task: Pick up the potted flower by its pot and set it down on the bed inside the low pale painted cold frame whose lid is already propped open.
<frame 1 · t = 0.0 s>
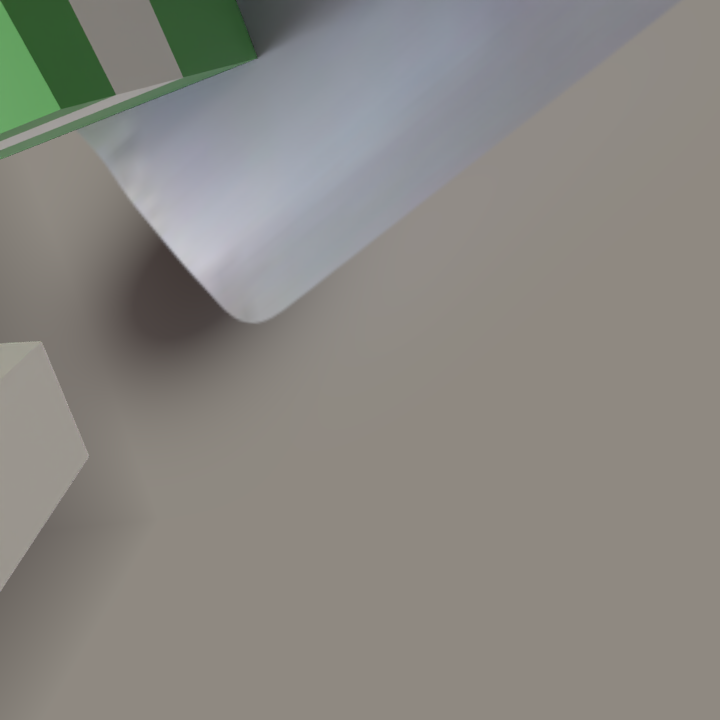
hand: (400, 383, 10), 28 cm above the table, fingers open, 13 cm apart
hardback book: (93, 44, 32), on the table
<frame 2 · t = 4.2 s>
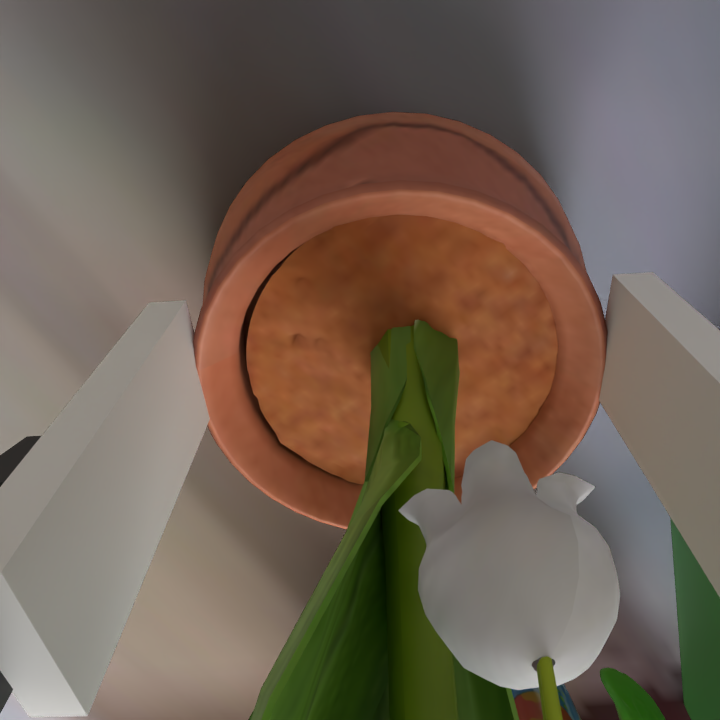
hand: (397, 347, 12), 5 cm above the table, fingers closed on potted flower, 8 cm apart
potted flower: (395, 254, 16), on the table, touching gripper
snack cup: (472, 665, 27), on the table
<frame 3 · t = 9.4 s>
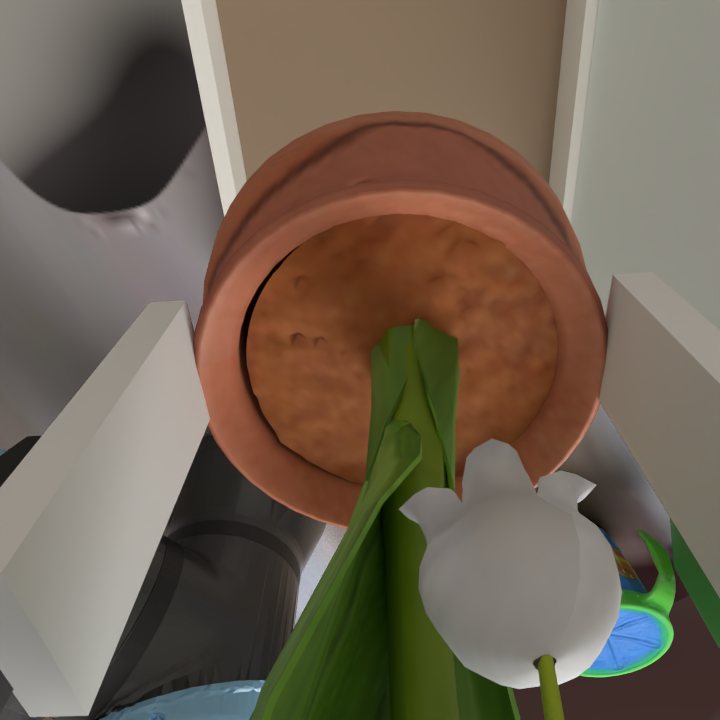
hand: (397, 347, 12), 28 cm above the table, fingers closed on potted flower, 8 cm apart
cold frame: (395, 130, 36), on the table
potted flower: (395, 253, 16), point 23 cm above the table, touching gripper
snack cup: (571, 545, 56), on the table
hardback book: (709, 496, 52), on the table
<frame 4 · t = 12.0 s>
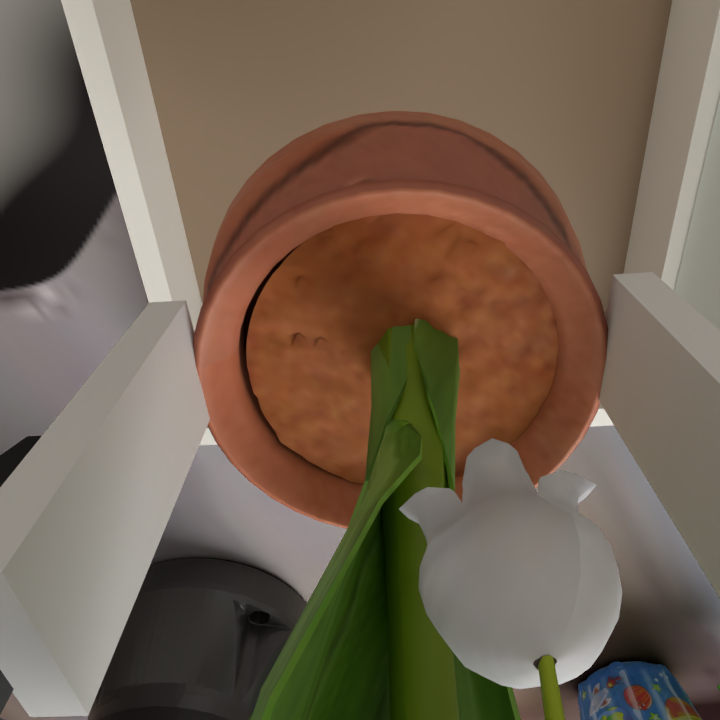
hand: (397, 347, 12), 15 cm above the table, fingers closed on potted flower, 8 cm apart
cold frame: (404, 180, 25), on the table
potted flower: (395, 253, 16), point 9 cm above the table, touching gripper
snack cup: (622, 680, 44), on the table
when the fingers open (8 cm above the table, at t = 14.3 s): potted flower drops 2 cm, resting on cold frame.
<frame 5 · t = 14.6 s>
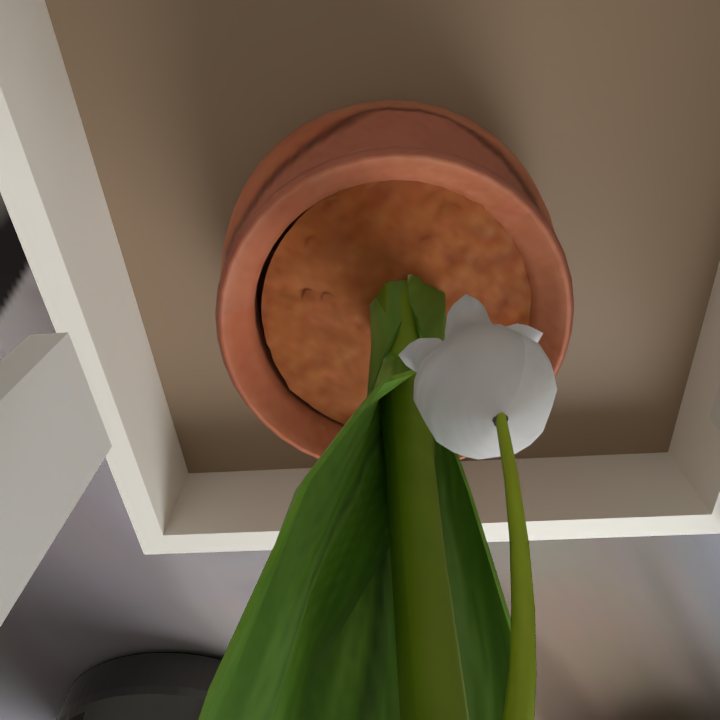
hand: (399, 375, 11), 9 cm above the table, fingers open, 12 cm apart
cold frame: (417, 224, 19), on the table
potted flower: (389, 232, 18), point 1 cm above the table, touching cold frame
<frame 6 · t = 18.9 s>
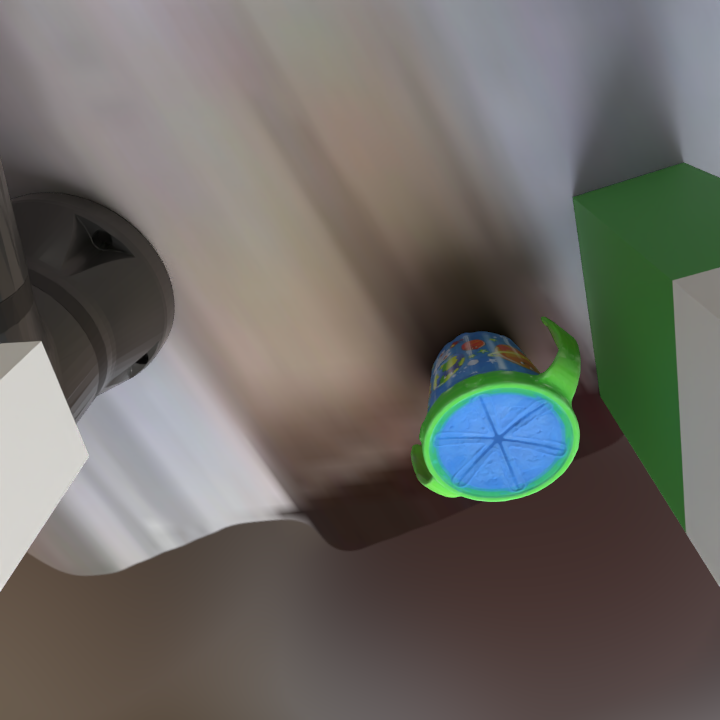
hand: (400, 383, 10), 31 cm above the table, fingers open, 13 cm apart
snack cup: (475, 366, 46), on the table
hardback book: (636, 291, 43), on the table
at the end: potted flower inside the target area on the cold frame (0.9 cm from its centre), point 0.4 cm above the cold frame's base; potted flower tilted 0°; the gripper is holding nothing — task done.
